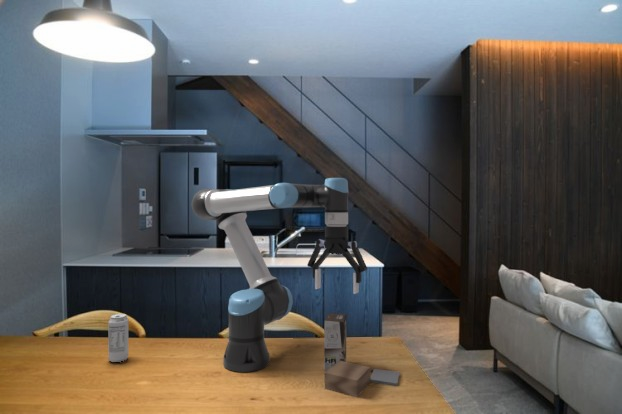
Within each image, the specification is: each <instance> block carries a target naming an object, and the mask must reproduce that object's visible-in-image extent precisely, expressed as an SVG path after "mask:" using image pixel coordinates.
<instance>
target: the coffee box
mask: <svg viewBox="0 0 622 414" xmlns="http://www.w3.org/2000/svg"><path fill="white" fill-rule="evenodd" d="M323 329H324V334H323V335H324V338H323V339H324V340H323V341H324V342H323V343H324V346H323V371H325V372H326V371H327V370H329V369H330V368H331V367H332V366H334V365H335V364H336V363H337V362H339V361H344V362H347V314H346V313H329V312H328V313H327V315H326V317H325V319H324V328H323Z"/></svg>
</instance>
